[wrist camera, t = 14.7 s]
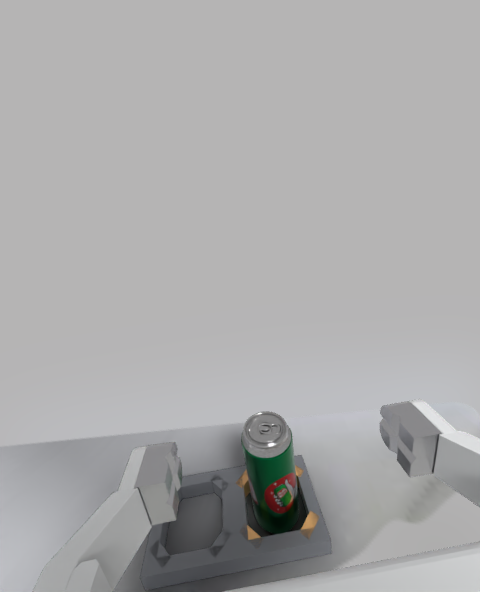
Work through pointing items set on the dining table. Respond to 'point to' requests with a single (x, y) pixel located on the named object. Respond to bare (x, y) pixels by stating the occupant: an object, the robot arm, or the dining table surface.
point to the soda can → (271, 471)
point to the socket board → (234, 533)
